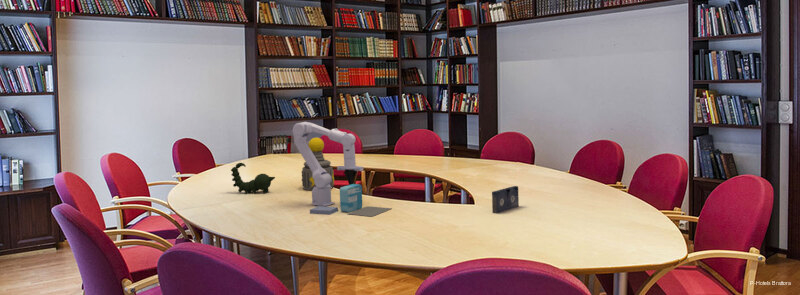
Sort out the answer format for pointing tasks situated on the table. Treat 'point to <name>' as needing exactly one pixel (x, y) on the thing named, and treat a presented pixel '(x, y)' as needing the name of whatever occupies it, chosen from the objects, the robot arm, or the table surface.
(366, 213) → the mat
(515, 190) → the vhs cassette tape
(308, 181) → the decorative lamp
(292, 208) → the table surface
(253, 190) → the toy figurine
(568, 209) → the table surface
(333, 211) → the book
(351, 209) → the teal flat block
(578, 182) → the table surface
